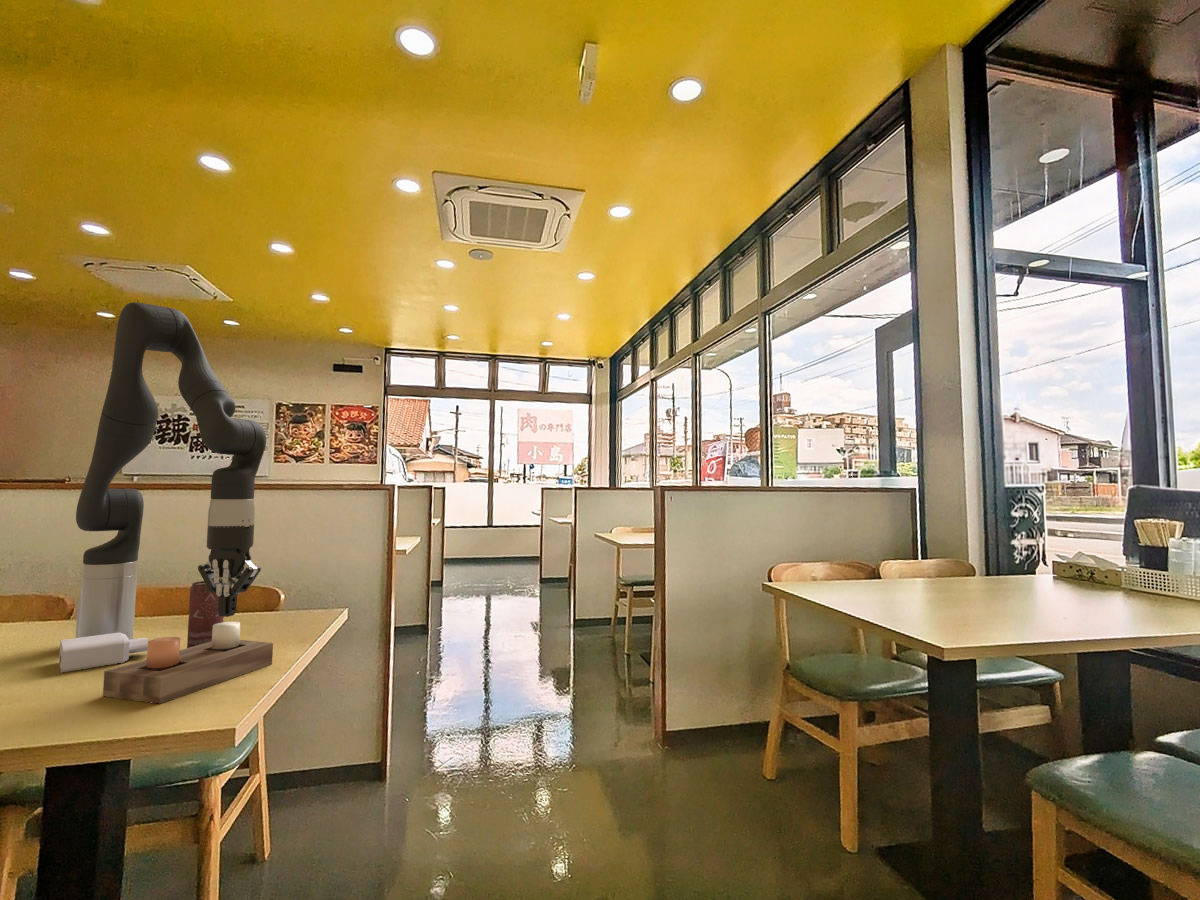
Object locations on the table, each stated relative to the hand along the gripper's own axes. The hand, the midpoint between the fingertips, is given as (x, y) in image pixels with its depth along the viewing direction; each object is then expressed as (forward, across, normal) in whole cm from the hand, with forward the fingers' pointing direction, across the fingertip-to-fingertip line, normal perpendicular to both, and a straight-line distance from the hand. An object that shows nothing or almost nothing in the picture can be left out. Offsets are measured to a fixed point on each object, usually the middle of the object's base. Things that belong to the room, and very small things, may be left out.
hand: (227, 615), depth 111 cm
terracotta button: (+6, 0, -12) cm, 13 cm away
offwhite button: (+6, 0, 0) cm, 6 cm away
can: (+10, -15, +9) cm, 20 cm away
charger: (+10, -26, -2) cm, 28 cm away
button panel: (+10, 0, -6) cm, 11 cm away
